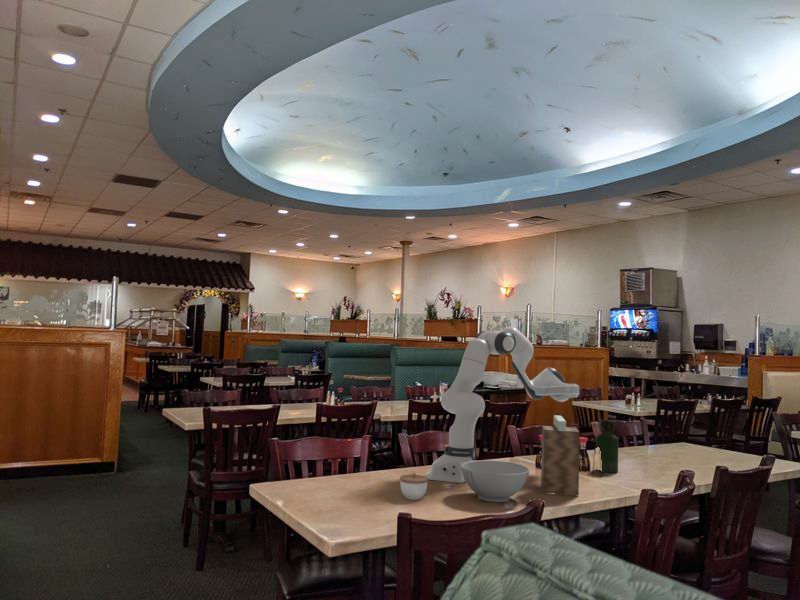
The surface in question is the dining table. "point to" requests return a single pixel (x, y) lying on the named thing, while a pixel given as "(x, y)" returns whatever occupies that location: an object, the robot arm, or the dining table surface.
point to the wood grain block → (560, 461)
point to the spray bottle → (608, 446)
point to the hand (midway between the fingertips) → (555, 389)
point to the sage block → (559, 423)
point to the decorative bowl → (494, 479)
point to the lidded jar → (413, 486)
